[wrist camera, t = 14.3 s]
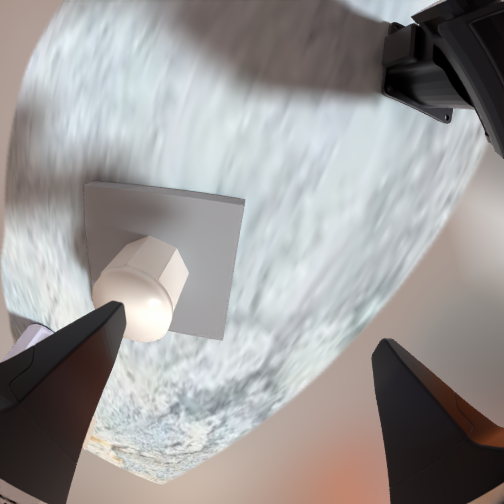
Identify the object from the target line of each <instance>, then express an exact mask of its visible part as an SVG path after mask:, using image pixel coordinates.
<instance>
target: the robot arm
mask: <svg viewBox="0 0 504 504" xmlns="http://www.w3.org/2000/svg"><path fill="white" fill-rule="evenodd" d="M411 18H412V19H413V20H414V21H415V22H416V23H417V24H419V25H417V24H415V23H413V24H410V25H408V26H406V27H405V26H403V25H401V24H399V23H397V22H393V23H391V24H390V25H389V33H388V36H387V37H386V38H385V44H384V53H383V60H382V65H383V67H384V74H383V80H382V86H381V90H382V92H383V94H384V95H386V96H388V97H390V98H393V99H395V100H398V101H400V102H402V103H404V104H407V105H409V106H411V107H413V108H415V109H417V110H419V111H421V112H423V113H425V114H427V115H429V116H431V117H433V118H435V119H437V120H439V121H441V122H443V123H446V124H448V123H450V122H451V119H452V112H453V108H459V109H473V110H475V111H476V113H477V115H478V117H479V119H480V121H481V123H482V126H483V128H484V130H485V136H486V138H487V140H488V142H489V143H491V144H492V145H493V147H494V149H495V151H496V152H497V153H498V154H499V155H500V156H501V157H502V158H503V159H504V0H439V1H437V2H436V3H434V4H432V5H430V6H428V7H427V8H425V9H423V10H421V11H420V12H418V13H416V14H415V15H413V16H411ZM394 26H395V27H397V29H398V30H396V29H395V28H394ZM387 86H388V87H389V88H390V92H388V91H387ZM445 115H446V119H445ZM126 324H127V322H126V314H125V307H124V304H123V303H122V302H118V301H113V300H112V301H110V302H108V303H106V304H104V305H103V306H101V307H99V308H97V309H95V310H94V311H92V312H90V313H88V314H87V315H85V316H83V317H81V318H79V319H78V320H76V321H74V322H72V323H71V324H69V325H67V326H65V327H64V328H62V329H60V330H58V331H57V332H55V333H53V334H51V335H50V336H48V337H46V338H45V339H43V340H41V341H39V342H38V343H36V344H35V346H34V345H32V346H31V347H29V348H27V349H26V350H24V351H22V352H20V353H19V354H17V355H15V356H13V357H11V358H9V359H7V360H5V361H3V362H1V363H0V504H39V501H40V500H41V501H43V502H45V503H47V504H66V501H67V497H68V493H69V490H70V486H71V482H72V479H73V475H74V472H75V469H76V465H77V462H78V459H79V455H80V452H81V449H82V446H83V443H84V440H85V438H86V435H87V432H88V429H89V426H90V423H91V421H92V418H93V415H94V413H95V410H96V408H97V405H98V402H99V400H100V397H101V395H102V392H103V390H104V387H105V385H106V383H107V380H108V378H109V376H110V373H111V371H112V368H113V366H114V363H115V360H116V357H117V354H118V350H119V347H120V344H121V341H122V338H123V335H124V332H125V329H126ZM372 368H373V377H374V386H375V394H376V400H377V405H378V411H379V416H380V421H381V427H382V433H383V440H384V447H385V454H386V461H387V468H388V477H389V487H390V489H389V490H390V502H391V504H504V428H503V427H500V426H498V425H496V424H495V423H493V422H492V421H491V420H489V419H488V418H487V417H485V416H484V415H483V414H481V413H480V412H479V411H477V410H476V409H475V408H473V407H472V406H471V405H469V403H467V402H466V401H465V400H464V399H462V398H461V397H460V396H459V395H458V394H457V393H456V392H455V393H454V391H453V390H452V389H451V388H450V387H449V386H448V385H446V384H445V383H444V382H443V381H442V380H441V379H440V378H438V377H437V376H436V375H435V374H434V373H432V372H431V371H430V370H429V369H428V368H427V367H425V366H424V365H423V364H422V363H421V362H420V361H418V360H417V359H416V358H415V357H414V356H412V355H411V354H410V353H409V352H408V351H407V350H405V349H404V348H403V347H402V346H400V345H399V344H398V343H397V342H396V341H394V340H393V339H391V338H384V339H382V340H381V341H380V342H379V344H378V346H377V347H376V349H375V350H374V352H373V354H372Z"/></svg>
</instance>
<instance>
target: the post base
mask: <svg viewBox="0 0 504 504" xmlns="http://www.w3.org/2000/svg"><path fill="white" fill-rule="evenodd" d="M244 205H245V199H239V198H233V197H226V196H220V195H213V194H206V193H199V192H192V191H185V190H177V189H169V188H161V187H152V186H143V185H134V184H124V183H114V182H103V181H92V182H90V183H88V184H86V185H84V214H85V229H86V240H87V250H88V258H89V266H90V273H91V280H92V286H94V284H95V282H96V281H97V280H98V278H99V277H100V276H101V272H102V271H103V270H104V269H105V268H106V267H107V266H108V264H109V263H110V262H111V261H112V260H113V259H114V258H115V257H116V256H117V255H118V253H119V252H120V251H121V250H122V249H123V248H124V247H125V246H126V245H127V244H129V243H131V242H134V241H136V240H139V239H142V238H144V237H147V236H149V235H150V236H152V237H154V238H157V239H159V240H161V241H163V242H165V243H168V244H170V245H172V246H174V247H176V248H177V249H178V251H179V253H180V255H181V258H182V260H183V262H184V264H185V266H186V268H187V270H188V272H189V274H188V277H187V279H186V282H185V284H184V286H183V289H182V291H181V294H180V296H179V299H178V301H177V304H176V307H175V309H174V312H173V318H172V321H171V323H170V326H169V329H168V331H172V332H177V333H182V334H188V335H193V336H199V337H204V338H210V339H216V340H223V336H224V329H225V323H226V316H227V310H228V303H229V297H230V291H231V284H232V278H233V272H234V265H235V259H236V253H237V247H238V241H239V235H240V229H241V223H242V217H243V211H244Z"/></svg>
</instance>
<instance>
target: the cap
mask: <svg viewBox="0 0 504 504" xmlns="http://www.w3.org/2000/svg"><path fill="white" fill-rule="evenodd" d="M188 274H189V272H188V270H187V268H186V266H185V264H184V262H183V260H182V258H181V255H180V253H179V251H178V249H177V248H176V247H174V246H172V245H170V244H168V243H165V242H163V241H161V240H159V239H157V238H154V237H152V236H150V235H149V236H147V237H144V238H142V239H139V240H136V241H134V242H131V243H129V244H127V245H126V246H125V247H124V248H123V249H122V250H121V251H120V252H119V253H118V255H117V256H116V257H115V258H114V259H113V260H112V261H111V262H110V263H109V264H108V266H107V267H106V268H105V269H104V270H103V271H102V272H101V276H100V277H99V278H98V280H97V281H96V282H95V284H94V286H93V290H92V301H93V305H94V307H95V309H97V308H99V307H101V306H103V305H104V304H106V303H108V302H110V301H112V300H113V301H118V302H122V303H123V304H124V307H125V314H126V322H127V324H126V329H125V332H124V335H123V337H124V338H127V339H130V340H133V341H137V342H151V341H155V340H158V339H159V338H161V337H162V336H164V335H165V333H166V332H167V331H168V329H169V326H170V323H171V321H172V318H173V312H174V309H175V307H176V304H177V301H178V299H179V296H180V294H181V291H182V289H183V286H184V284H185V282H186V279H187V277H188Z"/></svg>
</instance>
